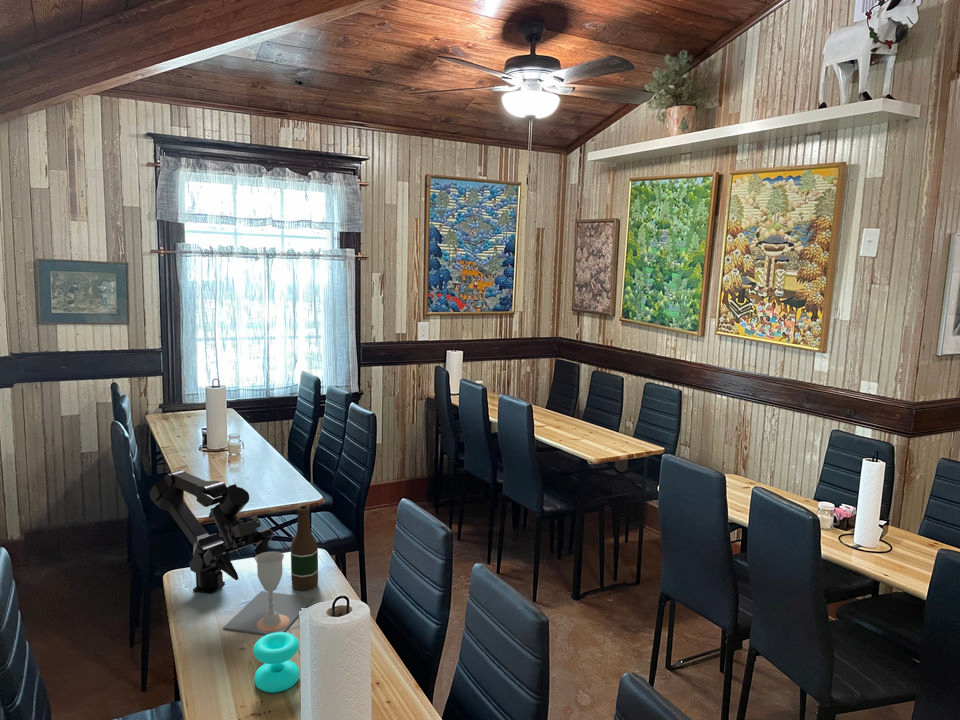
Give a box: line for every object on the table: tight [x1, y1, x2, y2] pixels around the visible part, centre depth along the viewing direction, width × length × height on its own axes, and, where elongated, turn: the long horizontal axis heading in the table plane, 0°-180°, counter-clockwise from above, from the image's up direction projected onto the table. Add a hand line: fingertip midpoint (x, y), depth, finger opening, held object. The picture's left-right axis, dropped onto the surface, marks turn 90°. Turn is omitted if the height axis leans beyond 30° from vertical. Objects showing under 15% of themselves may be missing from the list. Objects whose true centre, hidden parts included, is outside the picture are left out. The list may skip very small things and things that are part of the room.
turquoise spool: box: [253, 631, 300, 693], centre depth 161 cm, size 10×10×10 cm
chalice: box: [254, 551, 285, 626], centre depth 185 cm, size 7×7×18 cm
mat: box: [222, 590, 315, 636], centre depth 191 cm, size 16×20×1 cm
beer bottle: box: [290, 505, 319, 592], centre depth 206 cm, size 8×8×24 cm
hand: (252, 573), depth 190 cm, fingers open, 9 cm apart
